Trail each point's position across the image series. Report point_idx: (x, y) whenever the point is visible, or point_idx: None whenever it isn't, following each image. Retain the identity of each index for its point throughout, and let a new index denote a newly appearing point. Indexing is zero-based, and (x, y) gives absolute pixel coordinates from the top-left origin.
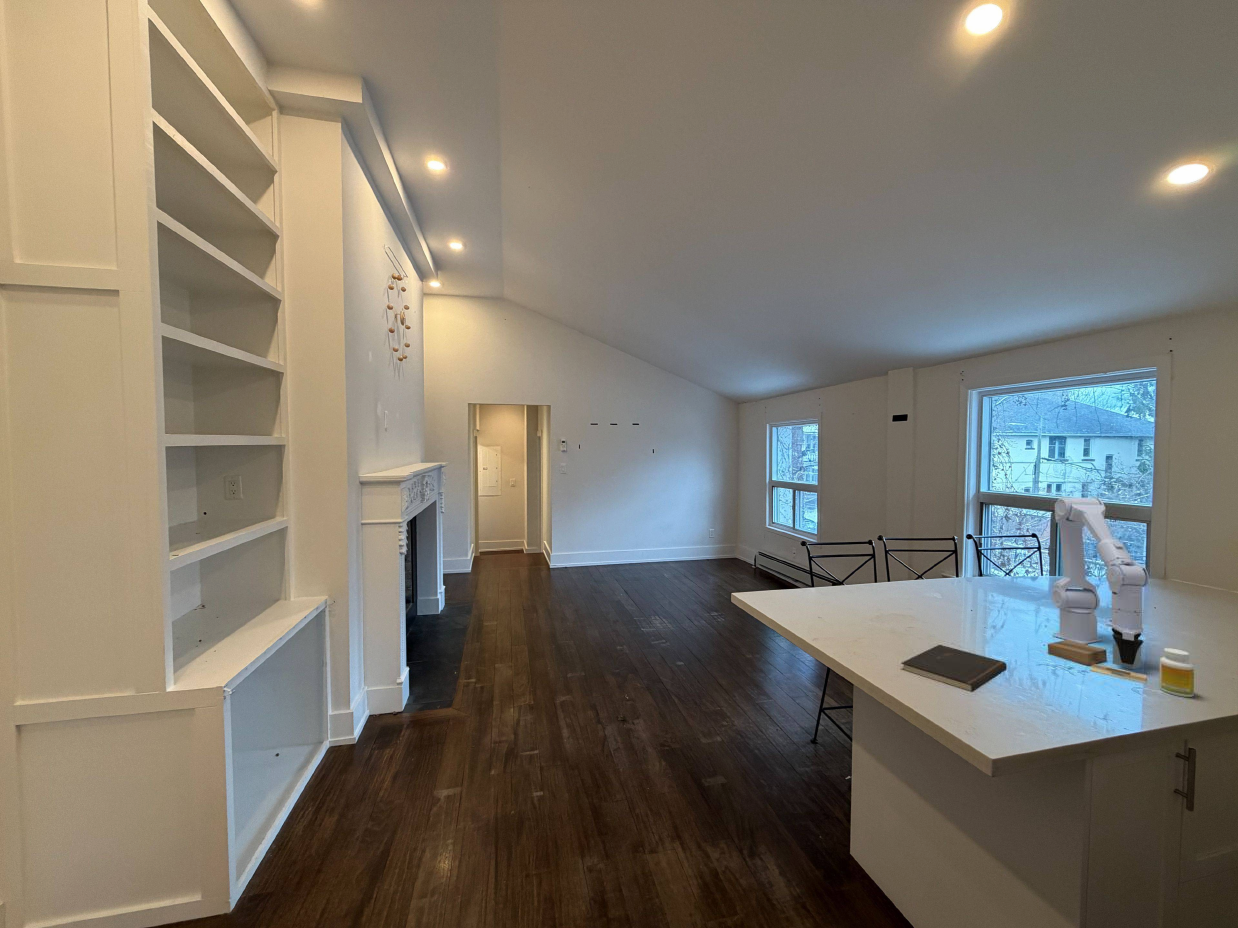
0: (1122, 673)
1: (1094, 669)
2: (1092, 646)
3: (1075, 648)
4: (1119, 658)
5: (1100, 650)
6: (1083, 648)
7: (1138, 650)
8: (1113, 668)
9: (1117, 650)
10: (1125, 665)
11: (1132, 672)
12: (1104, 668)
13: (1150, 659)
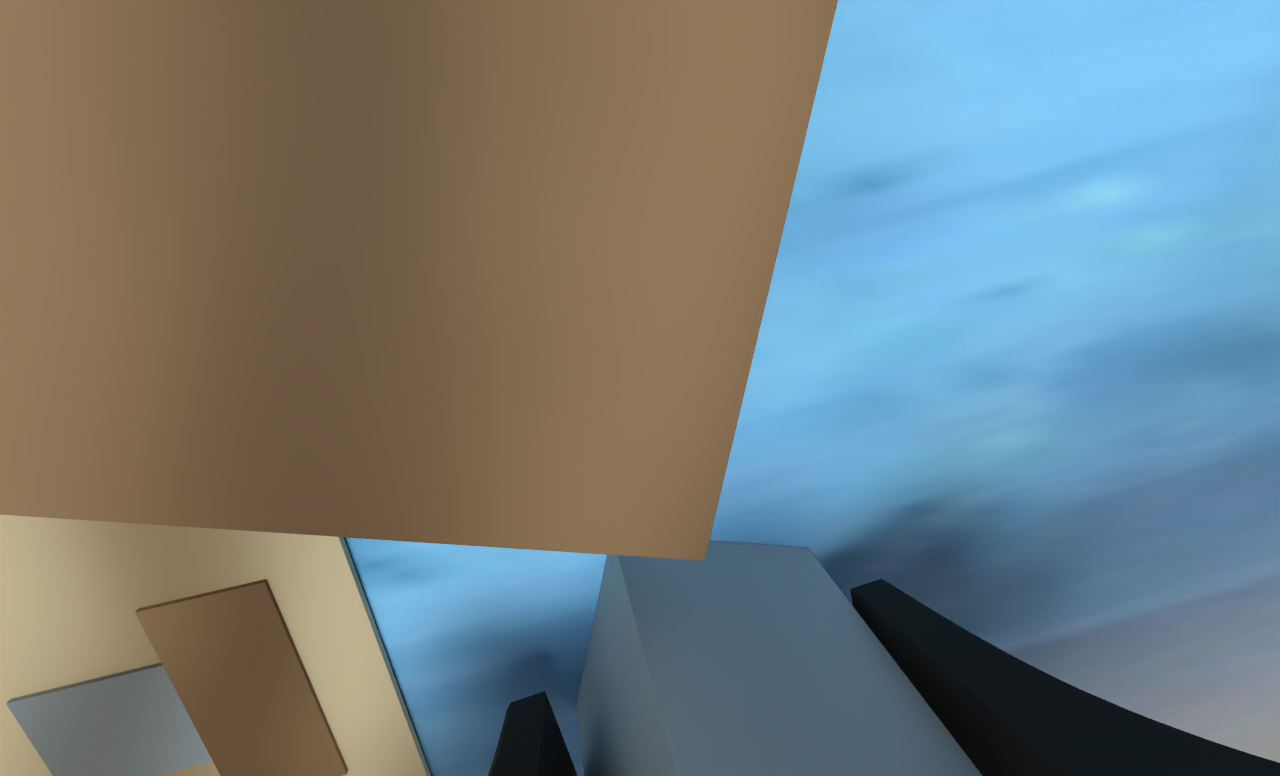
0: (183, 755)
1: None
2: (729, 348)
3: (137, 172)
4: (612, 668)
5: (531, 531)
6: (360, 290)
7: None
8: (332, 626)
9: (641, 751)
10: (593, 665)
11: (396, 767)
12: (190, 576)
13: (1151, 647)
